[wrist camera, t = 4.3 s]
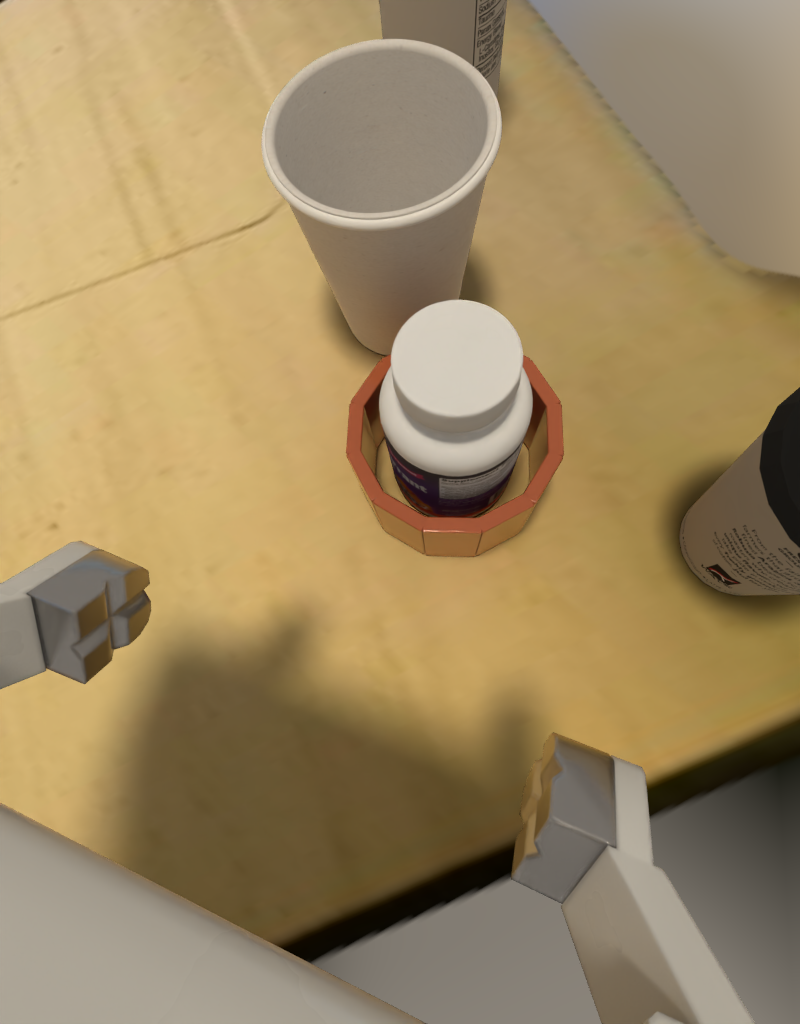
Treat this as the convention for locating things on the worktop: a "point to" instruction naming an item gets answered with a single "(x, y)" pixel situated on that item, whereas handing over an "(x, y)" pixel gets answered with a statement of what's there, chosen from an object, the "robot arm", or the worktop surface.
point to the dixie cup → (385, 174)
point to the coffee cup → (752, 516)
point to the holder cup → (453, 531)
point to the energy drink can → (452, 29)
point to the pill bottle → (455, 407)
